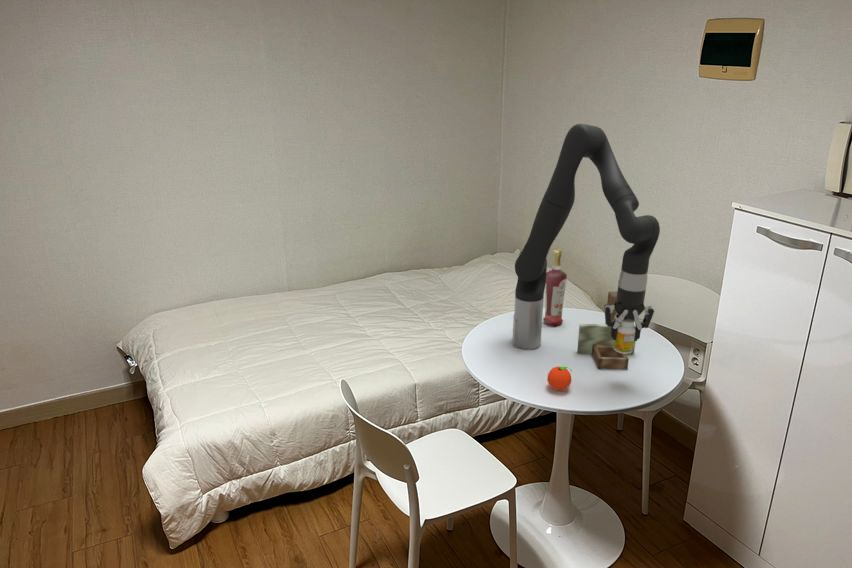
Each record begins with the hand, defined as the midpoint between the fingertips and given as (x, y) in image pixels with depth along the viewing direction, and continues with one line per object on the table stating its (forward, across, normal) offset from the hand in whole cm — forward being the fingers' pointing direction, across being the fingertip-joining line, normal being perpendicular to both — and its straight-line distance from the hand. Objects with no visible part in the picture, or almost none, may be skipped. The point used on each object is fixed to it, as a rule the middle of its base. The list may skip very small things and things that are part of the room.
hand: (624, 339), depth 180 cm
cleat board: (+14, 0, +13) cm, 19 cm away
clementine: (+15, -18, -5) cm, 24 cm away
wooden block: (+14, +6, +26) cm, 30 cm away
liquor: (+15, -15, +41) cm, 46 cm away
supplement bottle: (+4, 0, 0) cm, 4 cm away
